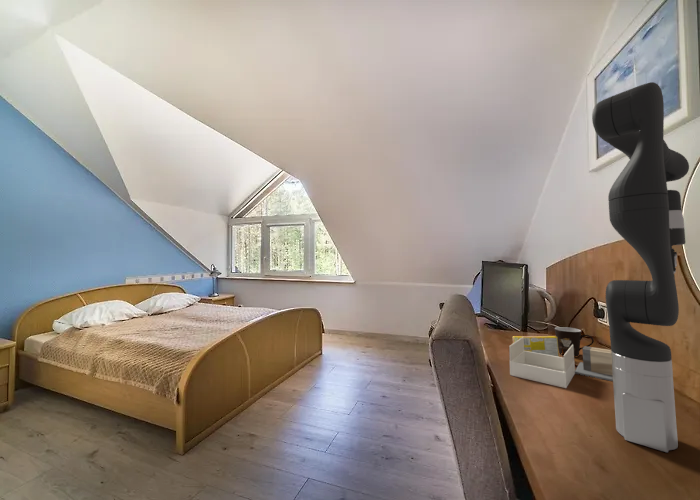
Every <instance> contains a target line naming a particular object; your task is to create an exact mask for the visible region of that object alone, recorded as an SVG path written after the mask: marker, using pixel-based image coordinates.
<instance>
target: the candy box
mask: <svg viewBox="0 0 700 500" xmlns="http://www.w3.org/2000/svg"><path fill="white" fill-rule="evenodd" d="M522 337H524V351H529V352H534V353H540V354H546V355H552V356H557V357H560V354H559V349H558V340H557V337H556V335H555V336H554V335H553V336H552V335H547V336H546V335H545V336H544V335H542V336H538V335H536V336H535V335H533V336H530V335H529V336H528V335H524V336H523V335H522V336H521V335H519V336H517V335H516V336H515V335H514V336H512V344H513V343H514V342H516V341H518V340H519V339H521V338H522Z"/></svg>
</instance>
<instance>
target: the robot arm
mask: <svg viewBox="0 0 700 500" xmlns="http://www.w3.org/2000/svg"><path fill="white" fill-rule="evenodd" d="M663 95H664V94H663V92H662V89H661V86H660V85H659V84H658V83H656V82H648V83H647V82H646V83H644V84H640V85H638V86H635V87H632V88H630V89H628V90H625V91H622V92H620V93H617V94H614V95H611V96H609V97H607V98H605V99H603V100H600V101H599V102H597V103H596V104H595V105H594V107H593V109H592V114H591V118H592V119H591V122H592V126H593V129H594V131H595V133H596V134H597V136H598V137H599V138H600V139H601V140H602V141H605V142H606V143H607V144H609V145H610V146H611V147H613V148H615V149H617V150H618V151H619V152H621V153H623V154H624V155H625V156H627V158H628V159H629V160H628V162H627V164H626V165H625V166H624V167H623V169H622V170H621V172H620V173H619V175H618V176H617V177H616V180H614V182H613V184H612V186H611V187H610V190H609V193H608V200H607V201H608V212H609V213H608V214H609V222H610V224H611V226H612V227H613V229H614V230H615V231H616V232H617V234H618V235H620V237H622V239H624V240H625V241H626V242H627V243H628V244H629V245H630V246H631V247H632V248H633V249H634V250H635V251H636V252H637V253H638V255H639V257H641V259H642V260H643V261H644V263H645V265H646V266H647V268H648V270H649V272H650V275H651V278H652V279H651V280H633V279H632V280H630V279H627V280H626V279H623V280H622V279H620V280H619V279H615V280H611V281H609V282H608V283H607V285H606V287H605V305H606V306H605V307H606V312H607V313H606V314H607V318H608V319H607V320H608V329H609V340H610V350H611V354H612V372H613V381H612V386H613V397H614V398H613V401H614V413H615V415H614V416H615V430H616V431H617V432H618V433H619V434H620V435H621V436H622V437H623V438H624V440H625V441H628V442H631V443H634V444H638V445H641V446H645V447H648V448H651V449H654V450H658V451H660V452H665V453H669V451H672V450H676V449H678V446H679V444H678V442H679V441H678V429H677V428H678V427H677V418H676V402H675V390H674V389H675V387H674V371H673V362H672V359H673V358H672V351H671V348H670V346H669V344H667V343H665V342H663V341H661V340H659V339H655V338H652V337H651V336H649V335H645V334H643V333H642V332H640V331H638V330H637V329H635V328H634V327H633V326H632V325H631V323H633V324H641V325H643V324H644V325H653V326H662V327H672V326H674V325H675V324H676V323H677V322H678V319H679V315H680V309H679V308H680V307H679V306H680V305H679V299H678V290H677V283H676V278H675V277H676V276H675V274H676V272H677V268H676V267H677V263H678V261H677V259H678V252H677V251H675V248H673V246H684V245H686V231H685V229H686V228H685V220H684V215H683V210H682V199H681V193H680V192H679V190H675V189H668V184H667V183H668V182H675V181H678V180H680V179H683V178H684V177H685V176H686V175H687V174H688V173H689V169H690V165H689V164H690V163H689V161H688V160H687V158H686V157H685V156H684V155H683V154H681V153H680V152H678V151H675V150H673V149H671V148H669V146H668V143H666V141H665V140H664V132H665V131H664V129H665V127H664V126H665V125H664V122H665V118H664V117H665V116H664V115H665V106H664V96H663Z"/></svg>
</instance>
